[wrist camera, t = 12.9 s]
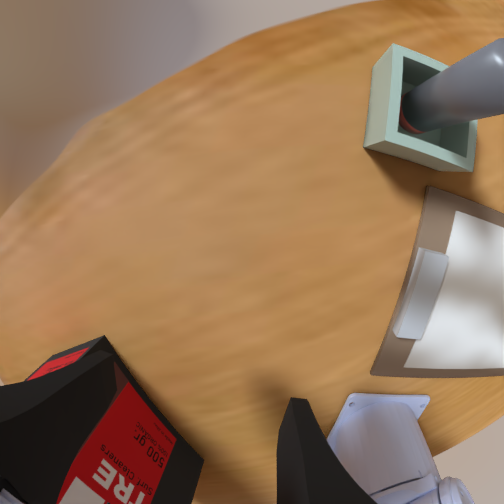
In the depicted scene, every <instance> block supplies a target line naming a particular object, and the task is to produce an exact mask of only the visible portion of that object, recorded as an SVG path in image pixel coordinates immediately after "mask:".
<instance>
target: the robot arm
mask: <svg viewBox="0 0 504 504" xmlns="http://www.w3.org/2000/svg"><path fill="white" fill-rule="evenodd" d="M116 391H117V384H116V377H115V369H114V360H113V354H111V353H108V352H105V351H102V350H99V351H97V352H95V353H93V354H90V355H88V356H86V357H84V358H82V359H80V360H78V361H76V362H74V363H71V364H69V365H67V366H65V367H63V368H60V369H58V370H55V371H53V372H50V373H48V374H45V375H43V376H40V377H37V378H34V379H31V380H27V381H24V382H20V383H15V384H10V385H4V386H0V504H23V503H25V504H56V503H57V500H58V497H59V494H60V491H61V488H62V486H63V483H64V480H65V478H66V476H67V474H68V471H69V469H70V467H71V465H72V463H73V461H74V459H75V457H76V455H77V453H78V451H79V449H80V448H81V446H82V444H83V443H84V441H85V440H86V438H87V437H88V436H89V434H90V433H91V431H92V430H93V429H94V427H95V426H96V424H97V423H98V422H99V420H100V419H101V417H102V416H103V415H104V413H105V412H106V410H107V409H108V407H109V405H110V403H111V402H112V400H113V398H114V396H115V394H116ZM429 401H430V397H429V396H428V395H387V394H365V393H352V394H350V395H349V396H348V398H347V400H346V402H345V404H344V406H343V408H342V410H341V412H340V414H339V416H338V418H337V420H336V422H335V424H334V426H333V428H332V430H331V432H330V434H329V436H328V437H327V439H326V438H325V436H324V434H323V433H322V431H321V429H320V427H319V425H318V423H317V420H316V418H315V416H314V414H313V412H312V409H311V407H310V404H309V402H308V401H307V399H300V398H292V397H291V398H290V401H289V404H288V407H287V410H286V413H285V416H284V418H283V421H282V424H281V427H280V429H279V435H278V444H277V504H475V503H474V501H473V499H472V497H471V495H470V493H469V492H468V490H467V488H466V487H465V485H464V484H463V482H462V481H461V480H460V479H457V478H452V477H446V478H444V479H443V480H441V478H440V475H439V473H438V470H437V468H436V465H435V463H434V460H433V457H432V455H431V453H430V450H429V448H428V445H427V443H426V440H425V438H424V436H423V433H422V431H421V429H420V426H419V424H418V422H417V420H418V418H419V417H420V415H421V414H422V412H423V411H424V409H425V407H426V406H427V404H428V403H429ZM352 402H354V403H352ZM350 403H352V404H350ZM22 502H23V503H22Z"/></svg>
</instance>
